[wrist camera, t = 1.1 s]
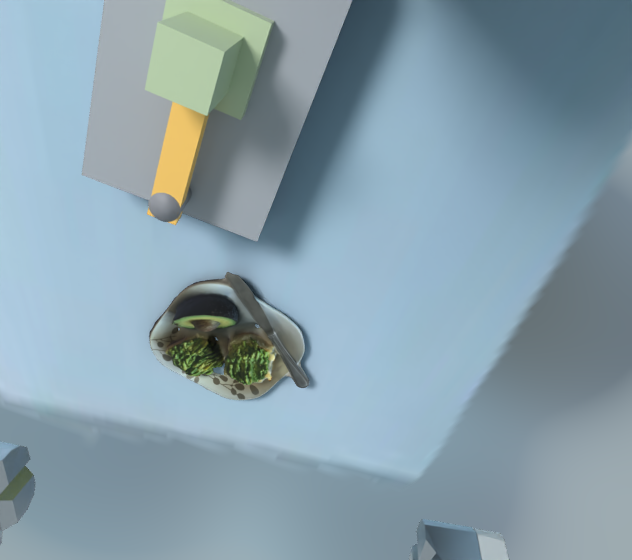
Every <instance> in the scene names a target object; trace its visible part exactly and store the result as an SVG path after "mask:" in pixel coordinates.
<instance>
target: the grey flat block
mask: <svg viewBox="0 0 632 560" xmlns="http://www.w3.org/2000/svg"><path fill="white" fill-rule="evenodd" d="M230 1H233V2H235V3H237V4H239V5H241V6H243V7H245V8H248V9H250V10H252V11H254V12H256V13H258V14H260V15H263V16H265V17H267V18H269V19H271V20H273V21H274V24H273V27H272V31H271V34H270V37H269V40H268V43H267V46H266V49H265V53H264V56H263V59H262V62H261V65H260V68H259V71H258V75H257V78H256V81H255V84H254V87H253V90H252V93H251V97H250V100H249V103H248V106H247V109H246V112H245V115H244V117H243V118H242V120H239V119H237V118H235V117H232V116H230V115H228V114H225V113H223V112H221V111H218V110H216V109H213V110H212V111H211V112H210V113H209V117H208V120H207V124H206V128H205V131H204V135H203V138H202V142H201V146H200V149H199V153H198V157H197V160H196V164H195V168H194V171H193V175H192V178H191V182H190V186H189V187H190V189H191V198H190V200H189V202H188V203H187V205H186V206H185V208H184V209H183V211H182V213H183V214H186V215H188V216H191V217H193V218H196V219H199V220H201V221H204V222H207V223H209V224H212V225H214V226H217V227H220V228H222V229H225V230H227V231H230V232H233V233H235V234H238V235H241V236H243V237H246V238H248V239H251V240H254V241H256V242H257V241H258V238H259V236H260V233H261V231H262V228H263V226H264V223H265V221H266V218H267V216H268V213H269V210H270V208H271V205H272V203H273V200H274V198H275V195H276V193H277V190H278V188H279V185H280V183H281V180H282V178H283V175H284V172H285V170H286V167H287V165H288V162H289V160H290V157H291V155H292V152H293V150H294V147H295V145H296V142H297V139H298V137H299V134H300V132H301V129H302V127H303V124H304V122H305V119H306V117H307V114H308V112H309V109H310V107H311V104H312V101H313V99H314V96H315V94H316V91H317V89H318V86H319V84H320V81H321V79H322V76H323V74H324V71H325V68H326V66H327V63H328V61H329V58H330V56H331V53H332V51H333V48H334V46H335V43H336V41H337V38H338V36H339V33H340V30H341V28H342V25H343V23H344V20H345V18H346V15H347V13H348V10H349V8H350V5H351V3H352V0H230ZM165 3H166V0H104V6H103V14H102V22H101V29H100V37H99V45H98V53H97V60H96V68H95V76H94V84H93V91H92V99H91V107H90V114H89V122H88V130H87V138H86V145H85V153H84V161H83V168H82V175H83V176H86V177H89V178H91V179H94V180H96V181H99V182H102V183H104V184H107V185H110V186H112V187H115V188H117V189H120V190H123V191H125V192H128V193H130V194H133V195H136V196H138V197H141V198H144V199H146V200H149V199H150V197H151V195H152V190H153V186H154V181H155V177H156V172H157V168H158V164H159V159H160V155H161V150H162V146H163V142H164V137H165V133H166V128H167V124H168V120H169V115H170V111H171V106H172V101H170V100H168V99H165V98H163V97H161V96H158V95H156V94H153V93H151V92H149V91H146V90H145V85H146V80H147V75H148V69H149V64H150V59H151V54H152V48H153V43H154V38H155V33H156V28H157V22H159V21H162V18H163V13H164V8H165Z"/></svg>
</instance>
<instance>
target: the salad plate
mask: <svg viewBox="0 0 632 560" xmlns="http://www.w3.org/2000/svg"><path fill="white" fill-rule="evenodd" d="M256 323H257V324H258V325H259V326H260V328H256V327H255V324H256ZM178 328H179V329H180V330H179V331H178ZM149 337H150V346H151V349H152V351H153V353H154V355H155V356H156V358H157V360H158V361H159V362H160V363H161V364H162V365H164V366H165V367H166V368H168V369H170V370H171V371H173V372H175V373H177V374H179V375H181V376H183V377H185V378H187V379H189V380H191V381H193V382H195V383H197V384H199V385H201V386H203V387H204V388H206V389H207V390H210V391H212V392H214V393H216V394H218V395H220V396H222V397H224V398H227V399H232V400H249V399H255V398H258V397H260V396H262V395H264V394H265V393H266V392H268V391H269V390H270V389H271V388H272V387H273V386H274V385H275V384H276V383H277V382H278V381H279V380H281V379H282V378H284V377H286V376H290V377H291V378H292V379H293V380H294V382H295V384H296V385H297V386H298V387H300V388H305V387H307V386H308V385H309V379H308V377H307V375H306V374H305V372H304V370H303V369H302V367H301V360H302V357H303V355H304V352H305V344H304V339H303V334H302V331H301V330H300V329H299V327H298V326H297V325H296V324H295V323H294V322H293V321H292V320H291V319H289V318H288V317H287V316H286V315H284V314H283V313H281V312H280V311H278V310H276V309H275V308H273V307H272V306H270V305H269V304H267V303H265V302H264V301H262V300H261V299H259V298H258V297H256V296H255V295H254V294H253V292H252V291H251V289H250V288H249V287H248V285H247V284H246V283H245V282H244V281H243V280H242V279H241V278H240V277H239V276H238V275H234V274H232V273H229V272H227V273H226V276H225V278H224V279H215V280H206V281H200V282H196V283H193V284H192V285H190V286H188V287H187V288H185V289H184V290H183V291H182V292H180V294H179V295H178V296H177V297H176V298H174V300H173V301H172V303H171V304H170V306H169V307H168V308H167V310H166V311H165V312H164V313H163V314H162V316H161V317H160V318H159V319H158V320H157V321H156V322H155V324H154V326H153V328H152V330H151V331H150V336H149ZM215 337H217V338H218V341H217V340H215ZM223 363H225V368H224V375H221V374H217V373H215V372H213V368H216V367H222V365H223Z"/></svg>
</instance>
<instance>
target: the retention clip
mask: <svg viewBox="0 0 632 560" xmlns="http://www.w3.org/2000/svg"><path fill="white" fill-rule="evenodd" d="M208 117H209V114H208V116H206V115H203V114H201V113H199V112H196V111H194V110H191V109H189V108H187V107H184V106H182V105H180V104H177V103H175V102H172V106H171V111H170V115H169V120H168V124H167V128H166V133H165V137H164V142H163V146H162V150H161V155H160V159H159V164H158V168H157V172H156V177H155V181H154V186H153V190H152V195H151V197H150V199H149V202H148V206H149V208H148V212H147V214H148V215H150V216H153V217H155V218H157V219H159V220H161V221H164V222H169V223H171V224H174V225H176V224H177V222H178V221H179V219H180V217H181V215H182V211H183V209H184V208H185V206H186V205H187V203H188V202H189V200H190V198H191V189H190V187H189V186H190V182H191V178H192V175H193V171H194V168H195V164H196V160H197V157H198V153H199V149H200V146H201V142H202V138H203V135H204V131H205V128H206V124H207V120H208Z"/></svg>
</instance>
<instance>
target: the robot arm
mask: <svg viewBox="0 0 632 560" xmlns="http://www.w3.org/2000/svg"><path fill="white" fill-rule="evenodd" d="M29 460H30V456H29V452H28V449H27V447H24V446H19V445H15V444H10V443H5V442H1V441H0V544H1V543H2V531H3V530H5V529H7V528H9V527H10V526H12V525H14V524H16V523H18V521H19V520H20V519H21V517H22V516H23V515H24V513H25V512H26V510H27V509H28V507H29V505H30V503H31V500H32V498H33V496H34V491H35V479H34V475H33V474H32V473H31V471H30V470H29V469H28V468H27V467H26V466H25V465H26V464H27V463H28V461H29ZM409 560H509V556H508V552H507V548H506V544H505V540H504V538H503V536H502V535H501V533H497V532H491V531H486V530H480V529H475V528H472V527H467V526H461V525H455V524H449V523H444V522H438V521H431V520H426V519H421V521H420V522H419V525H418V528H417V544H415V545H414V546H412V549H411V553H410V557H409Z"/></svg>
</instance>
